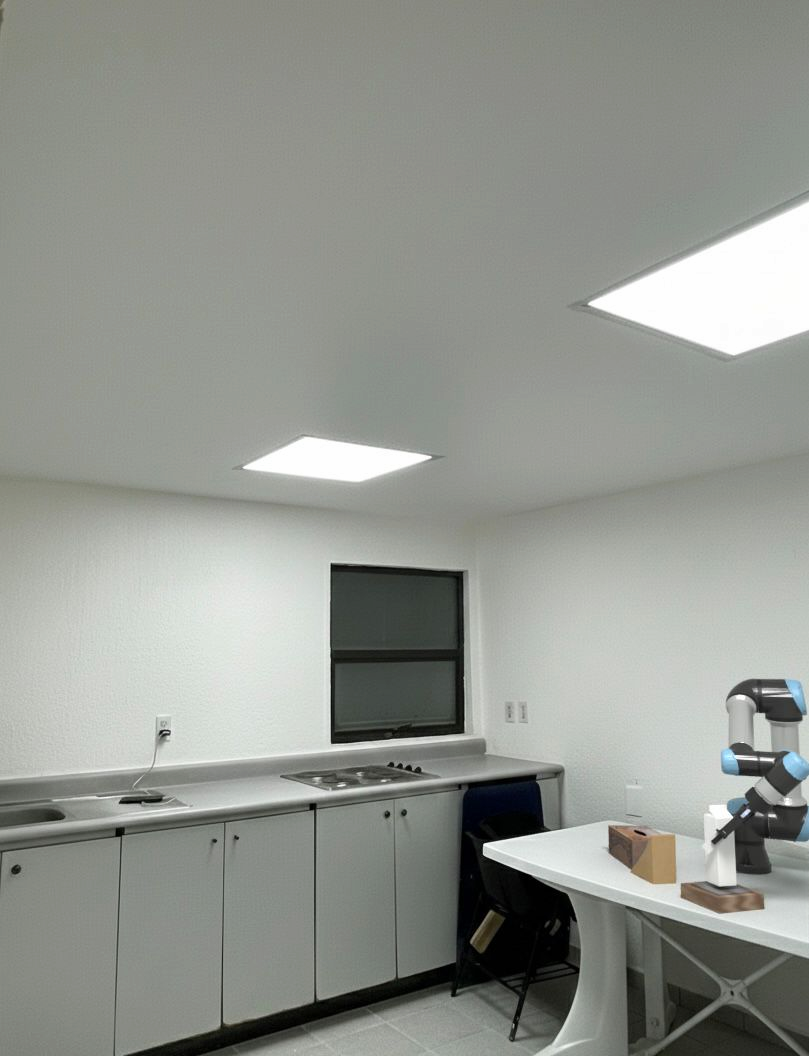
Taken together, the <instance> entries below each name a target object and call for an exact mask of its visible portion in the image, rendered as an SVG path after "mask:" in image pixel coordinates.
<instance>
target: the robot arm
mask: <svg viewBox="0 0 809 1056" xmlns="http://www.w3.org/2000/svg"><path fill="white" fill-rule="evenodd" d="M725 709H726V712H727V714H728V736H727V737H728V739H727V740H728V741H727V743H728V748H725V749H722V750H721V751H720V764H721V765H720V766H721V772H722V773H723V774H725V775H729V776H735V777H737V776H738V777H740V776H741V777H755V778H757V777H758V778H759V780H757V782H755V783H754V786H752V787H750V788H749V789H748V790H747V791H746V792H745V793H744V796H743V797H735V798H732V799H731V798H730V799H729V800H728V801H727V803H726V805H727V811H728V812H729V813H730V814H731V815H732V816H733V818H732V819H731V820H730V821H729V822H728V823H727V824H726V825H725V826H724V827H723V828H722V829H721V830H718V829H716V831H717V832H716V833H715V834H714V835H713V836H712V837H711V838H710V839H709V840H708V841H706V842H705V841H704V843H703V844H702V845H701V847H702V849H703V850H704V852H705V851H706V852H707V853H708V854H709V853H710V852H711V851H712V850H714V849H715V848H716V847H717V846H718V845H719V844H720V843H721V842H722V841H723V840H725V839H726V838H727V836H728V835H730V834H731V833H732V832H733V831H734V840H735V861H736V873H737V872H738V873H742V874H743V873H745V874H752V875H753V874H754V875H763V874H769V873H772V871H773V870H772V862H771V861H770V857H769V855H768V852H767V849H766V844H765V839H767V840H778V841H787V842H788V841H789V842H793V843H796V842H798V843H799V842H802V843H806V842H809V805H808V800H807V799H806V798H805V797H804V796H803V794H802V793H803V792H802V782H803V781H805V780H807V777H809V763H808V762H807V760H806V759H805V758H803V757H802V756H801V754H800V739H799V737H800V735H799V725H800V724H801V723H802V722H803V721H804V717H803V716H807V715H808V709H807V705H806V700H805V693H804V690H803V685H802V683H801V682H800V681H799V680H798V679H797V680H796V679H789V678H788V679H787V678H747V679H746V680H745V679H744V680H742V681H740V682H739V683H737V684H736V685H735V686H734V687H732V689H731V690H730V691H729V692H728V695H727V696H726V699H725ZM756 714H764V719H765V720H766V721H767V723H769V724H770V725H769V726H770V744H771V751H764V750H763V751H761V750H755V731H754V730H755V729H754V728H755V727H754V725H755V724H754V722H755V721H754V716H755V715H756ZM723 831H724V832H725V833H726V834H725V833H724V832H723Z"/></svg>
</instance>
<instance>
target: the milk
mask: <svg viewBox="0 0 809 1056" xmlns="http://www.w3.org/2000/svg"><path fill="white" fill-rule="evenodd" d="M708 808H709V810H708V811H706V812H705V813H704V814H703V826H704V827H703V829H704V830H703V832H704V843H705V842H706V841H708V840H709V839H710V838H711V837H712V836H713V835H714V834H715V833H716V832H717V831H716V829H718V830H721V829H722V828H723V827H724V826H725V825H726V824H727V823H728V822H729V821H730V820H731V819H732V818H733V816H732V815H731V814H730V813H729V812H728V811H727V804H710V805H709V807H708ZM723 832H724V831H723ZM724 833H725V832H724ZM725 834H726V833H725ZM704 856H705V857H704V858H705V879H706V880H705V881H707V882H710V883H712V884H714V885H717V886H719V887H720V886H736V885H737V871H736V861H735V840H734V831H733V832H732V833H731V834H730V835H728V836H727V838H726V839H725V840H723V841H722V842H721V843H720V844H719V845H718V846H717V847H716V848H715V849H714V850H712V851H711V852H710V853H709V854H708V853H707V852H706V851H705V850H704Z"/></svg>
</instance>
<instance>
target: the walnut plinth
mask: <svg viewBox="0 0 809 1056" xmlns="http://www.w3.org/2000/svg"><path fill="white" fill-rule="evenodd" d="M764 895H765V894H764V893H762V892H759V891H756V890H754V889H752V888H751V889H750V888H748V887H745V886H743V885H740V884H737V885H736V886H720V887H719V886H717V885H714V884H712V883H710V882H707V881H706V880H703V881H693V882H680V898H681V899H684V900H686V901H689V902H691V903H693V904H696V905H697V906H700V907H703V908H704V909H707V910H710V911H712V912H714V913H717V914H725V913H727V914H729V913H736V912H737V913H738V912H745V911H746V912H747V911H755V910H757V911H758V910H764V909H765V896H764Z"/></svg>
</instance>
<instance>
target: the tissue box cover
mask: <svg viewBox="0 0 809 1056" xmlns="http://www.w3.org/2000/svg"><path fill="white" fill-rule="evenodd" d="M607 833H608V854H609V855H611V856H612V857H614V859H616V860H617V861H619V862H620V863H621V864H623V865H624V866H626V867H627V868H628V869H629V870H630V871H631V870H632V868H633V867H634V865H635V864H636V862H637V860H638V859H639V857H640V855H641V853H642V852H643V850H644V848H645V847H646V845H647V843H648V841H649V839H650V837H651V835H660V834H662V833H661V832H658V831H657V830H655V829H653V828H652V827H650V826H647V825H621V824H620V825H616V824H615V825H614V824H610V825H609V824H608V832H607Z"/></svg>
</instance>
